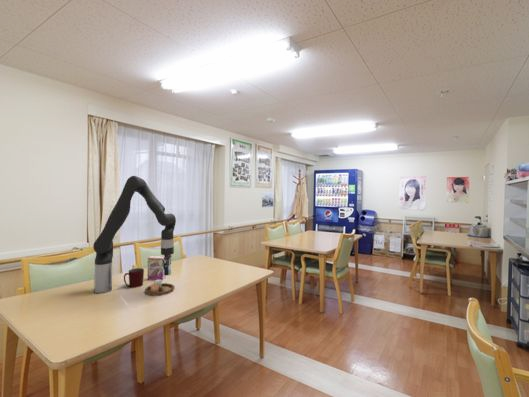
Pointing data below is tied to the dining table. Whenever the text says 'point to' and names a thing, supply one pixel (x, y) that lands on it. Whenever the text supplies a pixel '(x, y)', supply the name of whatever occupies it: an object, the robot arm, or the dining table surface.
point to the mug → (135, 277)
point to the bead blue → (169, 270)
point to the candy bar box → (155, 268)
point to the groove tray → (160, 290)
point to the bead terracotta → (155, 287)
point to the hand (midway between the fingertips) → (167, 273)
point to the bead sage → (158, 282)
